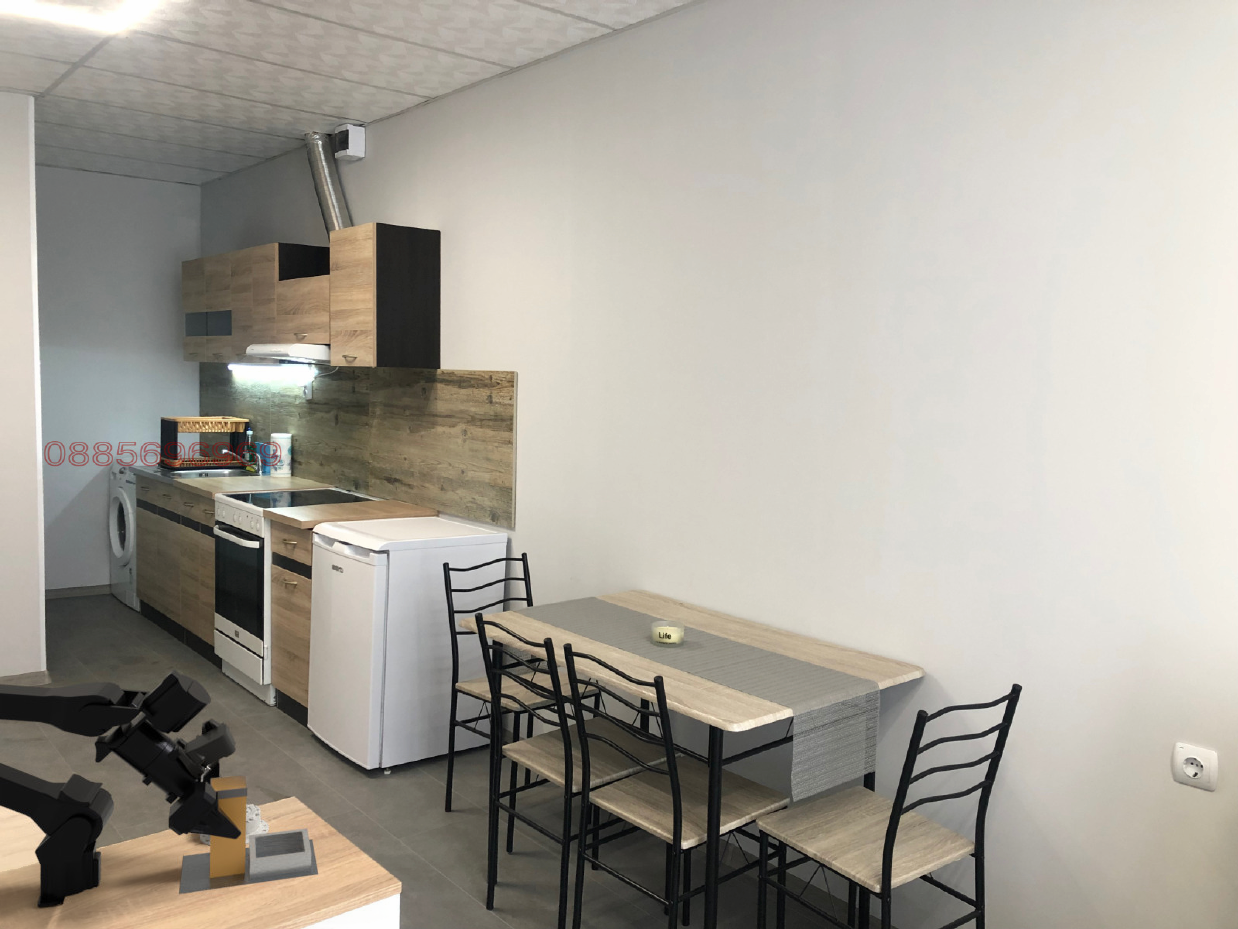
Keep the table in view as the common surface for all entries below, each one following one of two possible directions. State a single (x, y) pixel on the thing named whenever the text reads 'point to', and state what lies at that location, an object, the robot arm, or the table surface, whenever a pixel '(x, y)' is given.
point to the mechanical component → (248, 824)
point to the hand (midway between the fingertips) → (238, 821)
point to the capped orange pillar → (232, 800)
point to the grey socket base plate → (256, 862)
